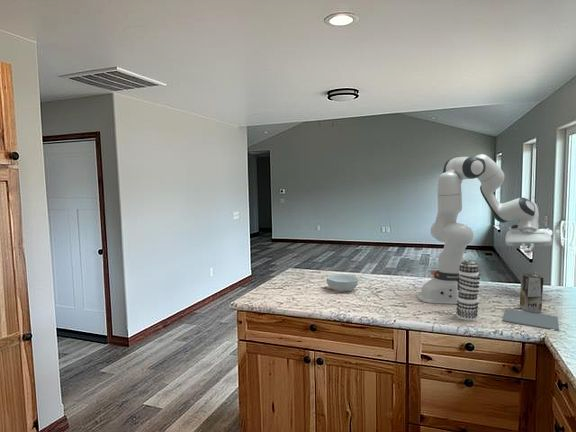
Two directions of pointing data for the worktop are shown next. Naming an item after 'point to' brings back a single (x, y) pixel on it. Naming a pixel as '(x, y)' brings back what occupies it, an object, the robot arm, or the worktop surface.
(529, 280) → the coffee box
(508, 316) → the rubber mat
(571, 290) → the worktop surface
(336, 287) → the cereal bowl
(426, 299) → the robot arm
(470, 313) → the decorative candle
